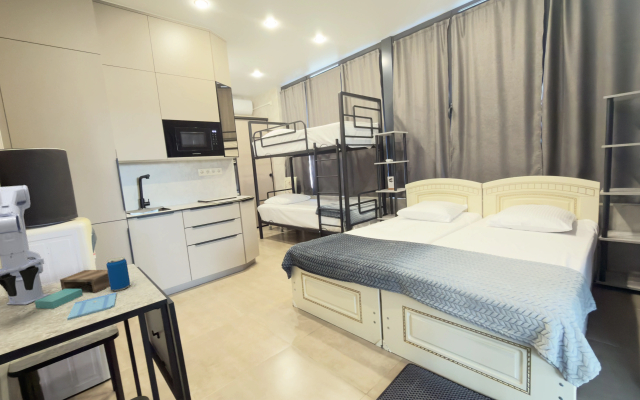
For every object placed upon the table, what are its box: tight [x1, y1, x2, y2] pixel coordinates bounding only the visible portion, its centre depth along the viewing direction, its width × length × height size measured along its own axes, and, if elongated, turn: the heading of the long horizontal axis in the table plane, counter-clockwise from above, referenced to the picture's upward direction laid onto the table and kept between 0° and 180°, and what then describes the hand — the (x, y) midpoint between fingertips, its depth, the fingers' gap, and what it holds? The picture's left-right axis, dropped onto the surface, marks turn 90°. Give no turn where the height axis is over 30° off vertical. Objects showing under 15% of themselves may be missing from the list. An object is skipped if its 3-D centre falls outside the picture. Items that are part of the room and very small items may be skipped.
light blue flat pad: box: [66, 292, 117, 321], centre depth 97 cm, size 14×12×1 cm
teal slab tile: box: [34, 288, 84, 310], centre depth 103 cm, size 8×10×3 cm
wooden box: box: [59, 269, 110, 294], centre depth 114 cm, size 16×10×6 cm, turn 81°
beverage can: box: [105, 256, 131, 292], centre depth 110 cm, size 6×6×12 cm
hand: (21, 292), depth 91 cm, fingers open, 4 cm apart
